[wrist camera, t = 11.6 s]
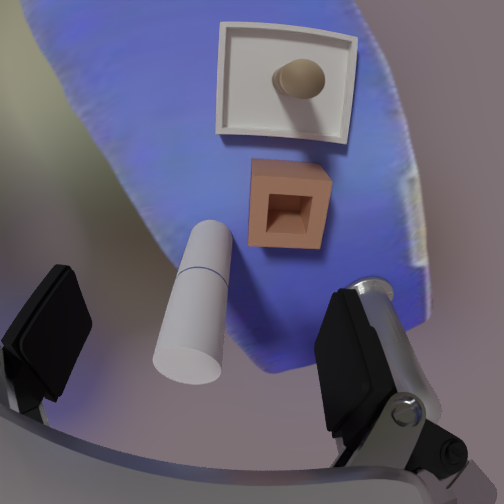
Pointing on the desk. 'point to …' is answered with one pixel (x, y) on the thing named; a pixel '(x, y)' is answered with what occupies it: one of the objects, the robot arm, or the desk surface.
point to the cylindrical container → (197, 308)
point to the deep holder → (287, 204)
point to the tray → (267, 97)
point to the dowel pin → (299, 79)
